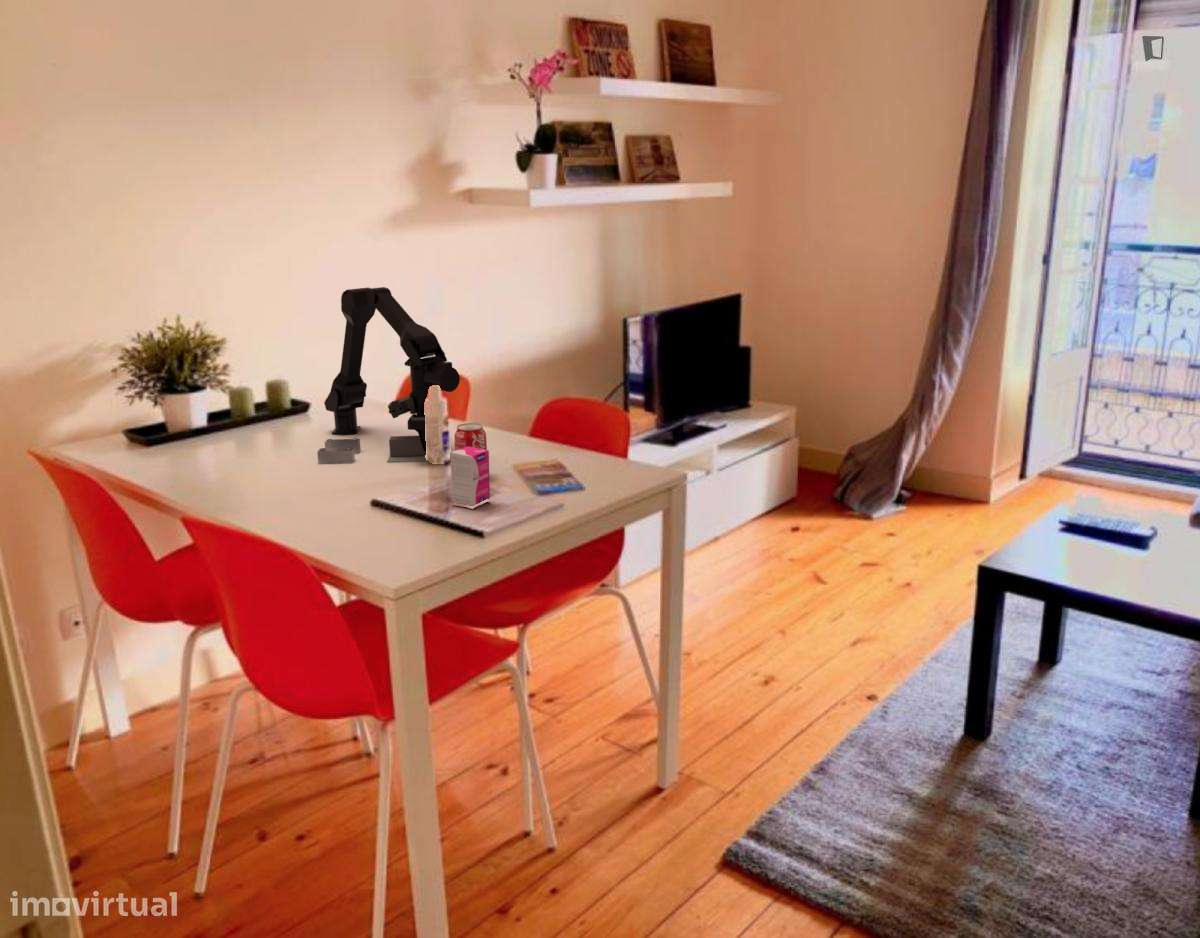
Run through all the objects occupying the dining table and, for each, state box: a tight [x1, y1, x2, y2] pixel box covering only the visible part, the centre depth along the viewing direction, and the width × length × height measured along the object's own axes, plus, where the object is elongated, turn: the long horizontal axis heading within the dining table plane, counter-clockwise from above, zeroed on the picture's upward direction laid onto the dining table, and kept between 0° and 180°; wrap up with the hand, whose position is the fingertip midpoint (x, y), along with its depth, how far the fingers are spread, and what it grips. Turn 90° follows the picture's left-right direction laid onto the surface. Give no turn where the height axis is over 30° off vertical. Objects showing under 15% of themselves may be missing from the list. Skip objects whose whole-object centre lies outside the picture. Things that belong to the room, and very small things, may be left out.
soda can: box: [454, 422, 488, 451], centre depth 214 cm, size 7×7×12 cm
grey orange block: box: [388, 435, 426, 456], centre depth 233 cm, size 4×11×4 cm, turn 94°
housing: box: [316, 437, 362, 465], centre depth 232 cm, size 11×8×3 cm
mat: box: [386, 455, 427, 463], centre depth 234 cm, size 11×11×1 cm
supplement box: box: [450, 446, 491, 506], centre depth 197 cm, size 6×6×12 cm
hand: (427, 449), depth 233 cm, fingers closed on grey orange block, 4 cm apart
